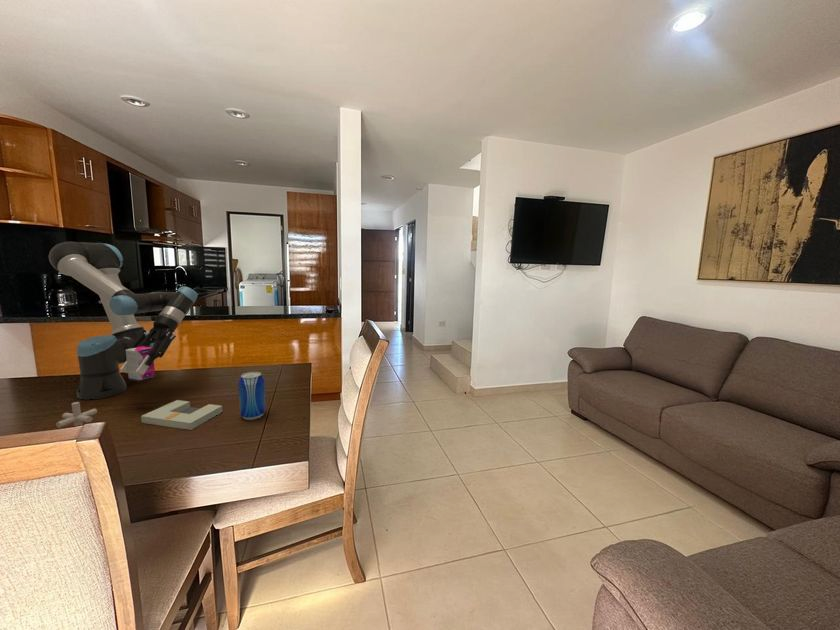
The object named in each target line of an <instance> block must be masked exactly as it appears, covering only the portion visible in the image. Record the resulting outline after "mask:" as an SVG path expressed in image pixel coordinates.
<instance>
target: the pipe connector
mask: <svg viewBox="0 0 840 630" xmlns="http://www.w3.org/2000/svg"><path fill="white" fill-rule="evenodd" d="M71 410H72V413H71V412H70V413H69V412H64V413H62V415H61V417H62V420H60V421H57V422H56V423H55V426H56V427H57V428H58V429H60V428H62V427H64V426H66V425H70V424H72V423H73V425H74V427H75V426H78V425H83V426H84V424H83V422H84V423H90V422H92V421H93V417H92V416H94V415H96V414H97V413H98V409H96V408H92V409H90V410H89V409H88V410H87V411H83V412H82V411H81V404H80V401H74V402H72V403H71Z"/></svg>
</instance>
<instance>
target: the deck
mask: <svg viewBox="0 0 840 630" xmlns="http://www.w3.org/2000/svg"><path fill="white" fill-rule="evenodd" d="M221 412H222V413H223V405H220V404H210V403H208V404H207V405H204V406H203V407H201V408H200V407H192V406H191V402H190V401H187V400H182V399H181V400H180V399H176V400H174V401H172V402H169V403H167V404H165V405H162V406H160V407H158V408H156V409H154V410H152V411H149V412H146V413H145V414H142V415H141V416H140V419H141V423H142V424H147V425H154V426H160V427H161V426H162V427H167V428H174V429H183V430H189V431H192V430H193V429H195V428H198V427H199V426H200V425H201V426H202V424H204V423H206V422H208V421H209V419H210V420H211V419H213V418H215V417H217V416H218V415H220V414H222V413H221ZM216 415H217V416H216Z"/></svg>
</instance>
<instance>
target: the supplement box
mask: <svg viewBox="0 0 840 630" xmlns="http://www.w3.org/2000/svg"><path fill="white" fill-rule="evenodd" d="M151 350H152V348H151V347H144V346H141V347H136V348H131V349H126V357H127V367H128V373H127V374H128V380H129V381H134V382H136V381H137V382H141V381H145V380H146V379H151V378H155V377H156V371H155V369H156V368H155V360H154V361H153V363H152V364H151V365H150V366H149V367H148V369H147V370H146V372H145V373H144V374H143V375H141V374H140V373H138V372H136V370H137V369H138V367H139V366H140V364H141V363H142V362H143V360H144V359H145V357H146V356H147V355H148V353H151ZM149 356H150V355H149Z"/></svg>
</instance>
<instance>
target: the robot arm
mask: <svg viewBox="0 0 840 630" xmlns="http://www.w3.org/2000/svg"><path fill="white" fill-rule="evenodd" d="M48 253H49V254H48V260H49V263H50V264H51V266H52V267H53V268H54V269H55V270H56V271H57V272H58V273H60V274H62V275H65V276H69V277H72V278H73V279H74V280H76V281H77V282H78V283H80V284H82V285H83V286H85V287H87V288H88V289H90V290H91V291H92V292H94V293H95V294H97V295H98V296H99V298H100V301H101V304H102V306H103V309H104V311H105V313H106V316H107V318H108V321H109V324H110V325H111V327H112V332H111V333H110V334H104V335H96V336H91V337H88V338H85V339H82V340H81V341H79V342H78V343H77V346H76V355H77V358H78V365H79V373H80V380H79V382H78V386H77V389H76V398H77V399H78V398H79V400H82V399H84V400H85V401H89V400H90V399H93V400H100V399H105V398H109V397H113V396H117V395H119V394H122V393H124V392H125V391H126V390H127V388H128V386H127V382H126V381H125V379H124V377H123V376H122V374H121V372H120V371H122V372H124V373H126V374H128V367H127V357H126V349H131V348H136V347H141V346H144V347H151V348H152V350H151V353H148V355H147V356H146V357H145V359H144V360H143V362H142V363H141V364H140V366H139V367H138V369H137V370H136V372H138V373H140V374H141V375H143V374H144V373H145V372H146V370H147V369H148V367H149V366H150V365H151V364H152V363H153V361H154V362H155V360H156V359H158V358H163V356H164V355H165V353H166V351H167V350H168V349H169V347H170V345H171V343H172V342H173V341H174V340H175V338H176V337H177V336H176V334H174V332H175V331H176V330H177V329H178V327H179V324H180V323H181V322H182V321H183V319H184V318H185V316H186V315H187V314H188V312H189V311H190V310H191V308H192V307H193V305H194V304H195V302H196V301H197V298H198V296H199V295H198V293H197V291H195V290H194V289H192V288H191V287H188V286H183V285H182V286H180V287H179V288H178V289H177V290H176V291H175V292H174V291H172V292H169V291H167V292H165V291H153V292H146V293H135V292H133V291H131V290H130V289H128V288H127V287H125V286H123V284H122V282H121V280H120V277H119V273H120V272H121V268H122V266H123V265H124V262H123V261H124V259H123V258H124V257H123V255H122V253H121V252H120V250H119V249H118V248H117V247H116V246H114V245H112V244H109V243H102V242H86V241H85V242H84V241H78V242H77V241H64V242H61V243H57V244H55V245H54V246H53V247H52V248H51V249H50V251H49V252H48ZM159 311H161V312H160V313H159V316H157V317H156V318H155V319H154V321H153V327H152V328H151V329H149V330H145V328H144V326H142V325H140V324H138V321H137V320H136V317H135V315H137V314H142V313H143V314H144V313H151V312H159ZM149 355H150V356H149ZM121 364H123V365H122V366H121V367H120V366H119V365H121ZM84 400H83V401H84ZM90 401H91V400H90Z"/></svg>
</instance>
